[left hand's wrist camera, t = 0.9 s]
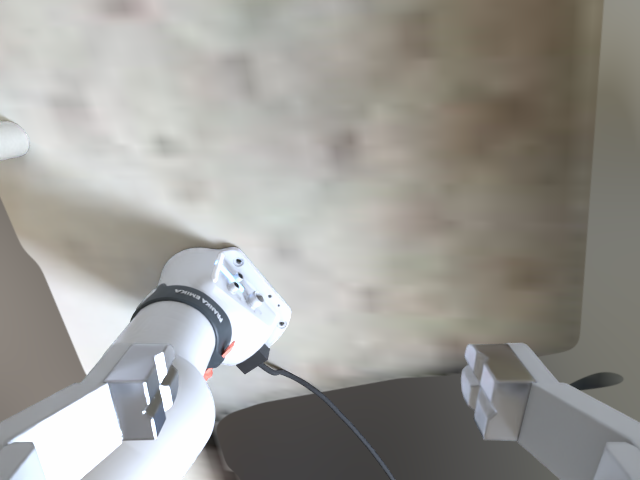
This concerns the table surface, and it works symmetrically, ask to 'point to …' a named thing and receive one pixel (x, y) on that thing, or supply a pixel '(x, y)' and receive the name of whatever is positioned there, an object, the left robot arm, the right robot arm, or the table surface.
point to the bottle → (12, 140)
